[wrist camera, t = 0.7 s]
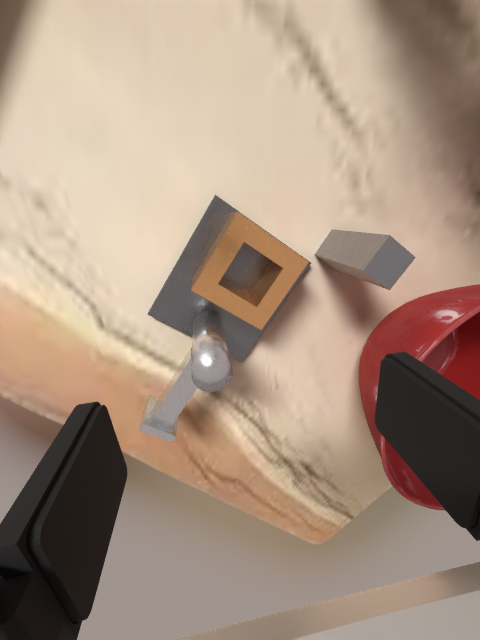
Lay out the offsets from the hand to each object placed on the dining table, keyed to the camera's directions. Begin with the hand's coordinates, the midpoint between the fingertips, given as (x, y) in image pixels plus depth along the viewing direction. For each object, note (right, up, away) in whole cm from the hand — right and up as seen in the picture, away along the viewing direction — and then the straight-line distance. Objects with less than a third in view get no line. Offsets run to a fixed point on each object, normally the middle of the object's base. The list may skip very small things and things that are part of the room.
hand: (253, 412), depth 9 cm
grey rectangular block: (+12, +12, +26) cm, 31 cm away
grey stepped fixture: (-4, +4, +26) cm, 27 cm away
